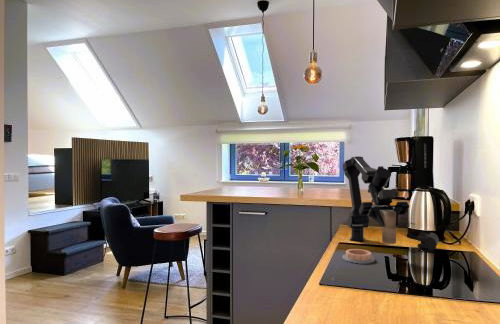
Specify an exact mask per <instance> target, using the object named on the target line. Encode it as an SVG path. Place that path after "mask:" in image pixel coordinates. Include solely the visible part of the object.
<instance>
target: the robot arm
mask: <svg viewBox="0 0 500 324" xmlns="http://www.w3.org/2000/svg"><path fill="white" fill-rule="evenodd" d="M342 170H343V173H344V176H345V177H346V178H347V179H348V185H349V194H350V200H351V209H350V212H349V216H348V219H347V220H346V224H347V227H348V228H350V229H351V230H350V231H351V232H350V233H351V235H350V238H349V240H350V241H355V242H365V239H366V237H365V236H364V235H365V233H364V231H365V230H364V229H365V228H367V229H368V228H369V222H370V218H371V219H373V220H374V221H376V222H377V223H378V224H379V225H380V226H381V228H382V227H384V226H385V225H384V221H383V219H382V213H381V212H382V211H395V212H396V228H397V227H398V226H399V216H401V215H402V216H403V215H406V213H407V211H408V210H409V208H410V204H409V203H408V201H403V200H402V201H396V203H395V204H392V203H393V199H395V198H397V197H399V196H400V195H399V194H400V193H399V191H398V189H397V188H391V189H384V187H386V186H387V184H388V182H389V180H390V178H391V177H392V173H391V171H390V170H388V169H387V168H384V166H383V165H382V166H381V165H380V166H378V167H377V168H374V167H371V166H370V165H369V163H368V162H366V160H365V159H364V156H359V155H358V156H352V157H351V158H349V159H347V160H345V161H344V162H343V163H342ZM360 174H361V181H362V182H363V183H364V184H367V185H368V184H369V185H368V189H367V193H370V196H371V198H372V199H371V201H362V196H361V195H362V194H361V189H360V188H361V187H360V181H359V176H360Z"/></svg>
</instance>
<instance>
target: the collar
mask: <svg viewBox="0 0 500 324" xmlns="http://www.w3.org/2000/svg"><path fill="white" fill-rule="evenodd" d="M343 259H344V260H343ZM342 260H343V261H345V262H347V261H348V262H347V263H350V262H353V263H352V264H356V263H358V264H357V265H368V264H373V263H374V262H375V257H374V256H373V255H372V252H371V251H370V250H366V249H361V248H349V249H346V250H345V254H343V255H342Z"/></svg>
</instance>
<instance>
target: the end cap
mask: <svg viewBox="0 0 500 324" xmlns="http://www.w3.org/2000/svg"><path fill="white" fill-rule="evenodd" d="M439 240H440V238H439V236H438V235H437V234H436V233H434V232H430V233H424V232H420V233H419V235H418V236H417V241H418V242H420V243H417V251H418V250H422V251H421V252H423V251H429V252H428V253H431V252H432V251H434V250H435V249H436V248H437V245H438V244H439V242H440V241H439Z"/></svg>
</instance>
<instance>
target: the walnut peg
mask: <svg viewBox="0 0 500 324" xmlns="http://www.w3.org/2000/svg"><path fill="white" fill-rule="evenodd" d="M381 217H382V219H383V221H384V225H385V226H384V227H382V226H381V232H382V233H381V238H382V239H381V242H382V243H383V244H387V245H394V244H397V227H396V212H395V211H381Z"/></svg>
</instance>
